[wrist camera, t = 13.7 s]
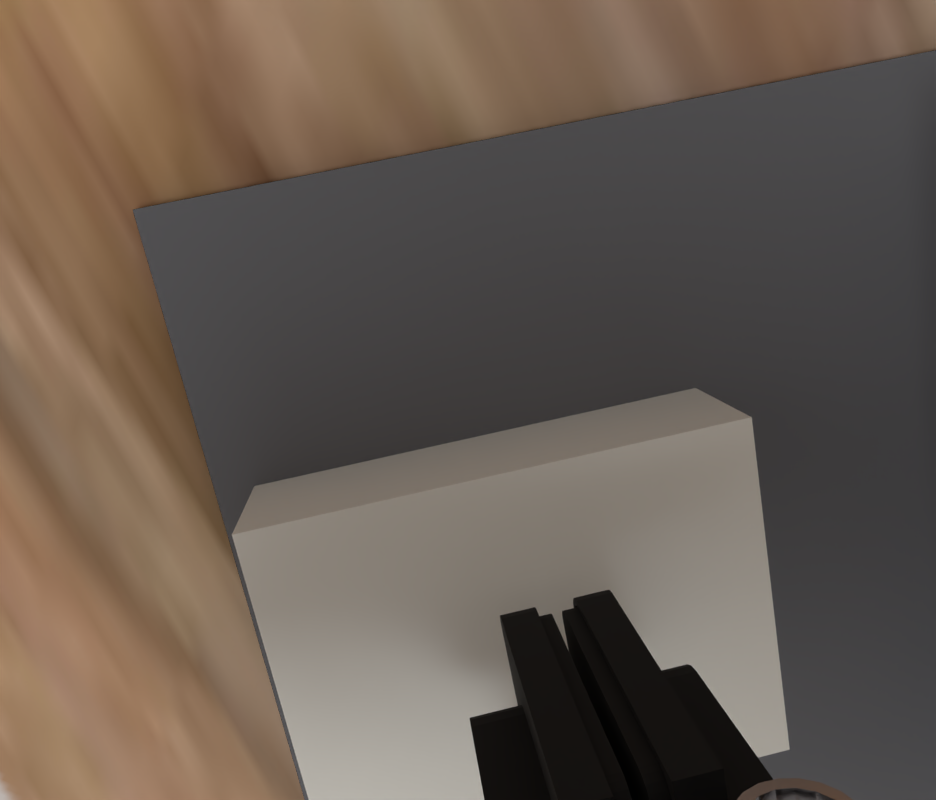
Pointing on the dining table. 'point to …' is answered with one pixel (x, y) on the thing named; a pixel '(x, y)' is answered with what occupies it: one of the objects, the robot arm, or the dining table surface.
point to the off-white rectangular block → (505, 582)
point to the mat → (623, 345)
